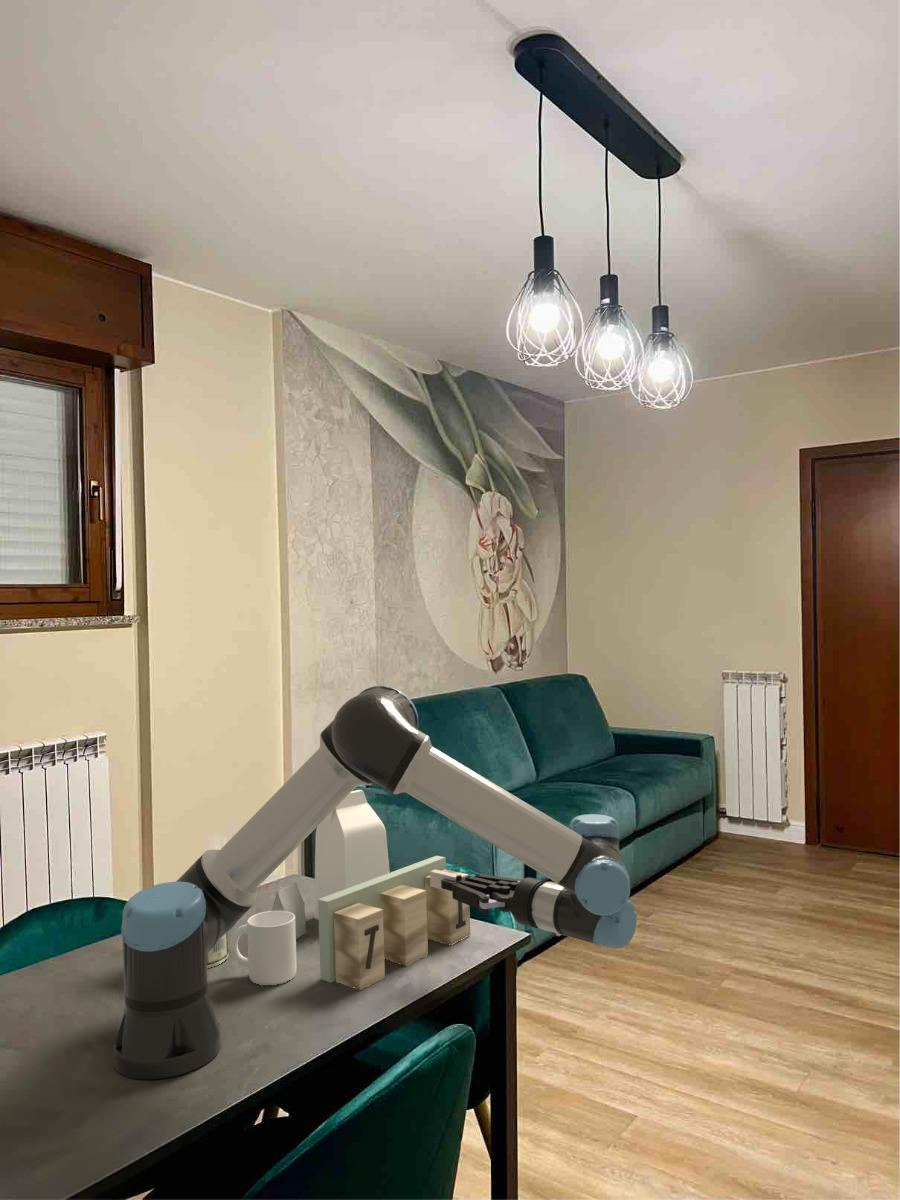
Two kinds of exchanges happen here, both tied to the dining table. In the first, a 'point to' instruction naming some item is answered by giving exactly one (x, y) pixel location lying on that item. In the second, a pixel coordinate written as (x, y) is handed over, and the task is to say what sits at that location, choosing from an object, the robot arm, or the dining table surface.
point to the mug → (268, 947)
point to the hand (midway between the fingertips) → (432, 877)
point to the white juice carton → (291, 906)
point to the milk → (349, 847)
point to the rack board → (368, 896)
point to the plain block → (404, 924)
